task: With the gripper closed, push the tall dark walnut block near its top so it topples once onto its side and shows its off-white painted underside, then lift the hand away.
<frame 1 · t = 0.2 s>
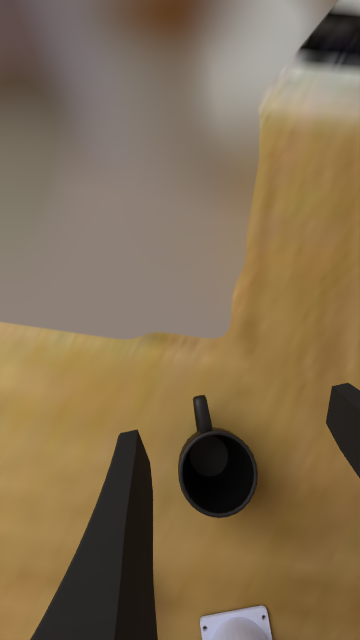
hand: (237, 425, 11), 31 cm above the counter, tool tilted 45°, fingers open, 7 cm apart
mug: (205, 440, 40), on the counter
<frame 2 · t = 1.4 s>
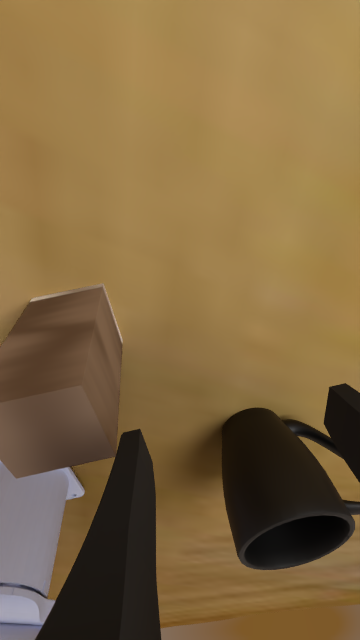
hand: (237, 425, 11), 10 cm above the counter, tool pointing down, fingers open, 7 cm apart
walnut block: (80, 320, 19), on the counter
mug: (268, 421, 28), on the counter
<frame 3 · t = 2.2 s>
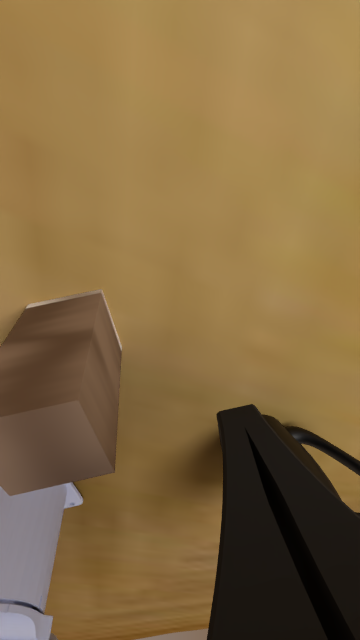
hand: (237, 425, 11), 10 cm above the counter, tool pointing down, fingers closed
walnut block: (78, 327, 19), on the counter
mug: (270, 428, 27), on the counter
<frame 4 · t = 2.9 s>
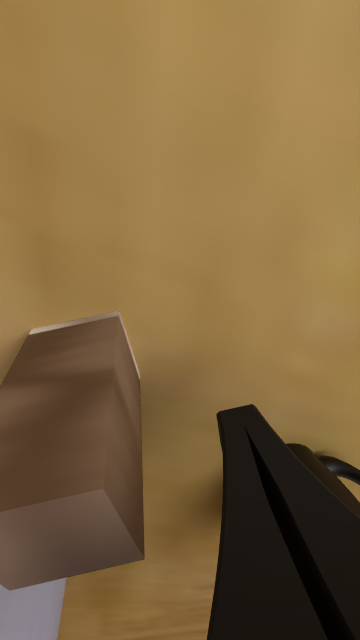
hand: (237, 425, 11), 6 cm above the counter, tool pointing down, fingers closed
walnut block: (90, 353, 16), on the counter
mug: (301, 456, 24), on the counter
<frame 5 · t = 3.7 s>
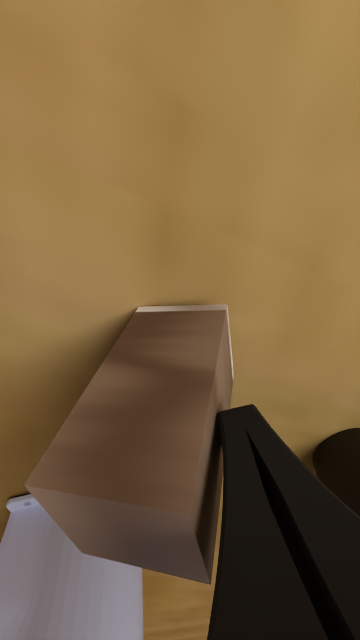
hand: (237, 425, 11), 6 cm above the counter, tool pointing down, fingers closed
walnut block: (187, 341, 15), point 1 cm above the counter, tilted 21°
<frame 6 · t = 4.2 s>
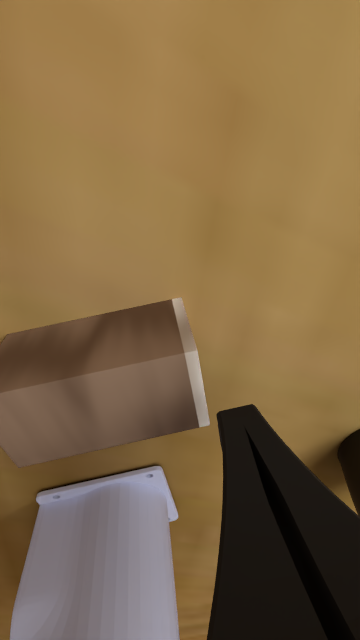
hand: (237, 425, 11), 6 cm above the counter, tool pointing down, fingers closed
walnut block: (194, 357, 14), point 2 cm above the counter, tilted 90°
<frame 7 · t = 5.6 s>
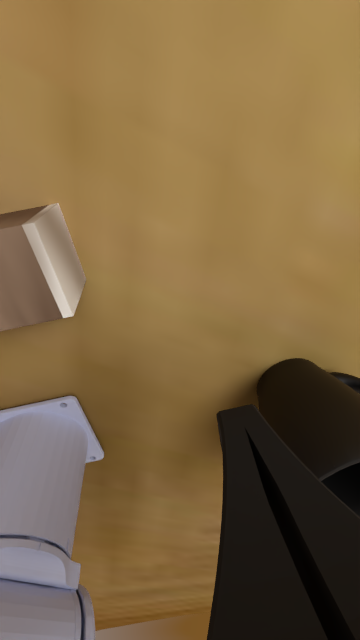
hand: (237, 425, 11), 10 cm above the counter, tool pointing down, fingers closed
walnut block: (65, 256, 15), point 2 cm above the counter, tilted 90°
mug: (307, 376, 25), on the counter
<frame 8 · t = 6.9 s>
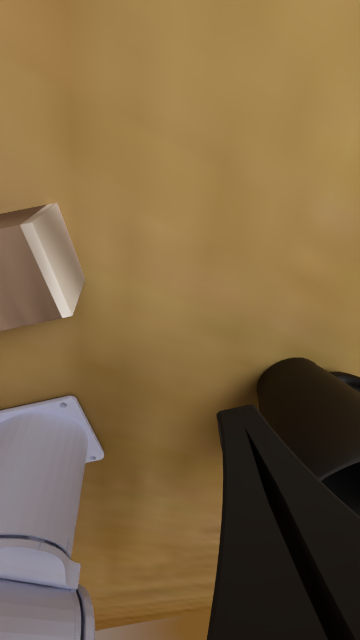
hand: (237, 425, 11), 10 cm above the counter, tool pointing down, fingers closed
walnut block: (64, 256, 15), point 2 cm above the counter, tilted 90°
mug: (307, 375, 25), on the counter
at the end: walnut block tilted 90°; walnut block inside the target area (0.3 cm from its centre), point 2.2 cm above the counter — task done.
